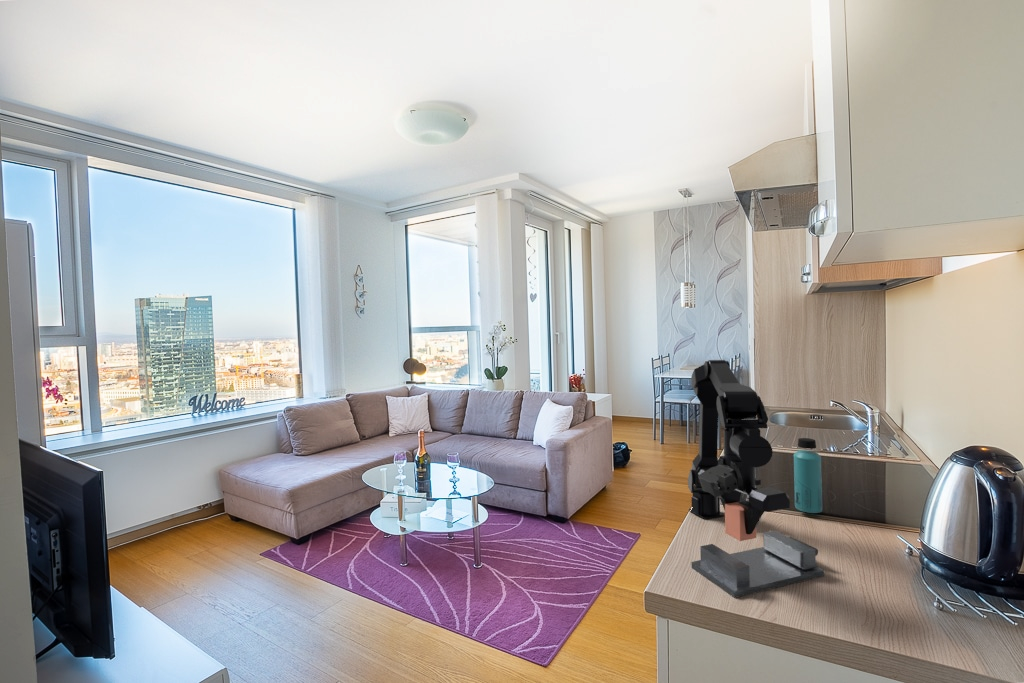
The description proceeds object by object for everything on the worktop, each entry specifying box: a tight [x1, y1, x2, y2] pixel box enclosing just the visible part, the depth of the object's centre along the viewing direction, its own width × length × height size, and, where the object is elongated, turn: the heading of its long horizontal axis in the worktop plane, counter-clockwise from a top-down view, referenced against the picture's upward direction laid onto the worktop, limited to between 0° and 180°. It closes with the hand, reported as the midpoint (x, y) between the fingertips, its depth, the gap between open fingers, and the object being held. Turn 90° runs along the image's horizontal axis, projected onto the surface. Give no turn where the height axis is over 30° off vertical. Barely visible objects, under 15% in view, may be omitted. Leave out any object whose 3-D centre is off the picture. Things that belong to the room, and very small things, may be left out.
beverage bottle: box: [792, 437, 824, 514], centre depth 126 cm, size 6×7×20 cm
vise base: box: [690, 543, 825, 599], centre depth 97 cm, size 22×12×5 cm, turn 108°
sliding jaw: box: [762, 529, 819, 570], centre depth 100 cm, size 6×10×4 cm, turn 18°
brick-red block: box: [724, 500, 757, 542], centre depth 96 cm, size 4×4×6 cm
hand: (740, 529), depth 96 cm, fingers closed on brick-red block, 4 cm apart
